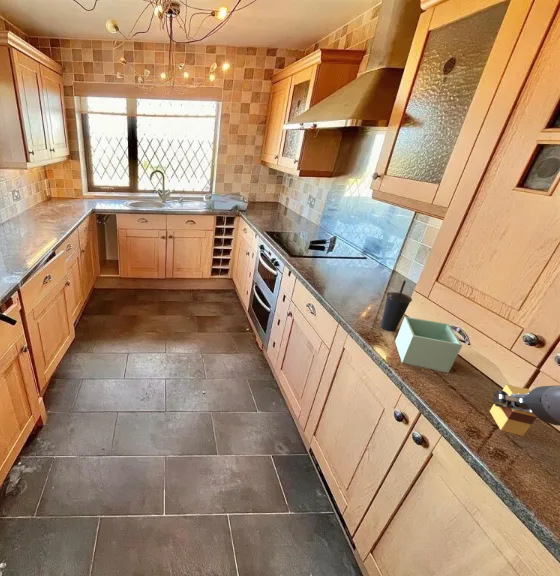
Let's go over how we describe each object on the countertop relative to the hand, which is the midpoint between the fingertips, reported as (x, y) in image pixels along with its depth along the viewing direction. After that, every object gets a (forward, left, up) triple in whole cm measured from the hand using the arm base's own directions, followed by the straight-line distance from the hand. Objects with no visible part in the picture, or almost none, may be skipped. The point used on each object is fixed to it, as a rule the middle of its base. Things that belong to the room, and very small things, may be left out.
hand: (509, 404), depth 74 cm
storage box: (+10, -26, -8) cm, 29 cm away
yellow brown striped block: (0, +2, -4) cm, 5 cm away
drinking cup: (+17, -41, -8) cm, 45 cm away
